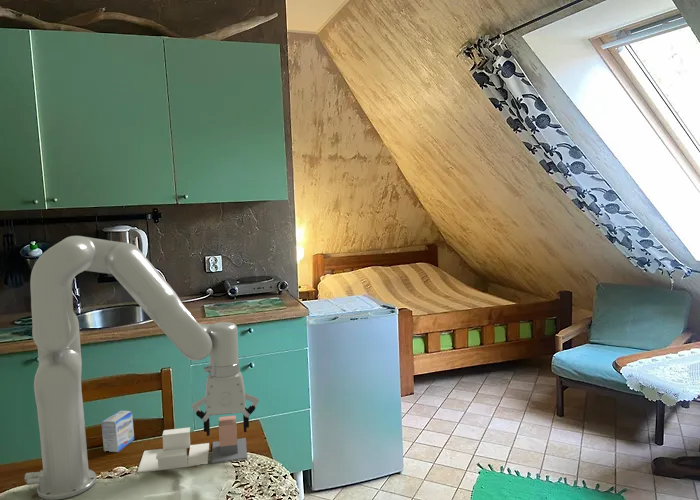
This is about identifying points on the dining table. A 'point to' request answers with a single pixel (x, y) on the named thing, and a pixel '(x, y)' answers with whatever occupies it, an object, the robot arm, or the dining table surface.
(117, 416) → the medicine box
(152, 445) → the dining table surface
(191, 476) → the dining table surface
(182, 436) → the carton
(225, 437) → the box
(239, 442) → the mat
